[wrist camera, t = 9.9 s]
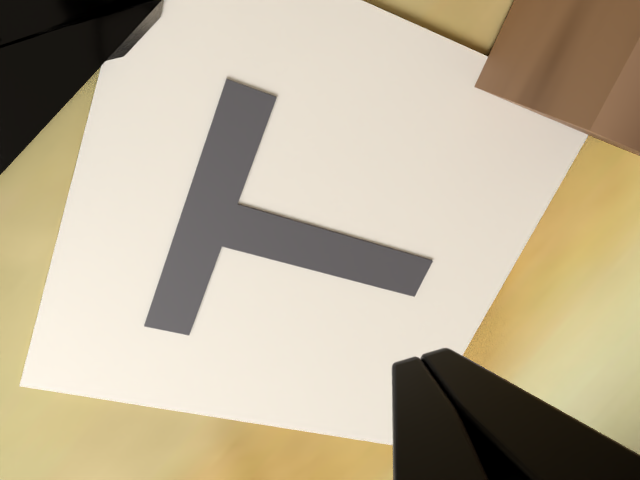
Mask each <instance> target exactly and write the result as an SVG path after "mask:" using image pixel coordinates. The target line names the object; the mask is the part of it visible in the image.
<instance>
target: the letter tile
mask: <svg viewBox="0 0 640 480" xmlns="http://www.w3.org/2000/svg"><path fill="white" fill-rule="evenodd" d="M487 58H488V56H486V55H483V54H481V53H479V52H477V51H475V50H472V49H470V48H468V47H466V46H463V45H461V44H459V43H457V42H454V41H452V40H450V39H448V38H445V37H443V36H441V35H439V34H436V33H434V32H432V31H430V30H427V29H425V28H423V27H421V26H419V25H416V24H414V23H412V22H410V21H407V20H405V19H403V18H401V17H398V16H396V15H394V14H392V13H389V12H387V11H385V10H383V9H380V8H378V7H376V6H374V5H372V4H369V3H367V2H365V1H363V0H164V3H163V8H162V14H161V17H160V19H159V20H158V21H157V22H156V23H155V24H154V25H153V26H152V27H151V28H150V29H149V30H148V31H147V32H146V34H145V35H144V36H143V37H142V38H141V39H140V40H139V41H138V42H137V43H136V44H135V45H134V46H133V47H132V49H131V50H130V51H129V52H128V53H127V54H126V55H125V56H124V57H120V58H116V59H112V60H108V61H105V62H104V63H103V64H102V66H101V69H100V73H99V77H98V81H97V84H96V88H95V92H94V96H93V100H92V104H91V108H90V112H89V116H88V120H87V124H86V128H85V131H84V135H83V139H82V143H81V147H80V151H79V155H78V159H77V163H76V167H75V171H74V174H73V178H72V182H71V186H70V190H69V194H68V198H67V202H66V206H65V210H64V214H63V217H62V221H61V225H60V229H59V233H58V237H57V241H56V245H55V249H54V253H53V257H52V261H51V264H50V268H49V272H48V276H47V280H46V284H45V288H44V292H43V296H42V300H41V304H40V307H39V311H38V315H37V319H36V323H35V327H34V331H33V335H32V339H31V343H30V347H29V350H28V354H27V358H26V362H25V366H24V370H23V374H22V378H21V382H20V386H22V387H28V388H34V389H41V390H47V391H53V392H60V393H66V394H72V395H79V396H85V397H91V398H98V399H104V400H110V401H117V402H123V403H129V404H136V405H142V406H148V407H154V408H161V409H167V410H173V411H180V412H186V413H192V414H199V415H205V416H211V417H218V418H224V419H230V420H237V421H243V422H249V423H256V424H262V425H268V426H274V427H281V428H287V429H293V430H300V431H306V432H312V433H319V434H325V435H331V436H338V437H344V438H350V439H357V440H363V441H369V442H376V443H382V444H388V445H393V430H392V365H393V363H395V362H397V361H401V360H404V359H407V358H411V357H415V356H416V357H419V358H421V356H422V355H423V354H424V353H428V352H431V351H434V350H438V349H441V348H449V349H451V350H453V351H455V352H457V353H459V354H460V355H463V353H464V352H465V350H466V348H467V346H468V345H469V343H470V341H471V339H472V338H473V336H474V334H475V332H476V331H477V329H478V327H479V325H480V324H481V322H482V320H483V318H484V317H485V315H486V313H487V311H488V310H489V308H490V306H491V305H492V303H493V301H494V299H495V298H496V296H497V294H498V292H499V291H500V289H501V287H502V285H503V284H504V282H505V280H506V278H507V277H508V275H509V273H510V271H511V270H512V268H513V266H514V264H515V263H516V261H517V259H518V257H519V256H520V254H521V252H522V250H523V249H524V247H525V245H526V243H527V242H528V240H529V238H530V236H531V235H532V233H533V231H534V229H535V228H536V226H537V224H538V222H539V221H540V219H541V217H542V215H543V214H544V212H545V210H546V208H547V207H548V205H549V203H550V201H551V200H552V198H553V196H554V194H555V193H556V191H557V189H558V187H559V186H560V184H561V182H562V180H563V179H564V177H565V175H566V173H567V172H568V170H569V168H570V166H571V165H572V163H573V161H574V159H575V158H576V156H577V154H578V152H579V151H580V149H581V147H582V145H583V144H584V142H585V140H586V138H587V137H588V135H587V134H585V133H583V132H580V131H578V130H576V129H573V128H571V127H568V126H566V125H564V124H561V123H559V122H557V121H554V120H552V119H549V118H547V117H545V116H542V115H540V114H538V113H535V112H533V111H530V110H528V109H526V108H523V107H521V106H519V105H516V104H514V103H511V102H509V101H507V100H504V99H502V98H500V97H497V96H495V95H492V94H490V93H488V92H485V91H483V90H481V89H478V88H476V87H474V86H475V84H476V82H477V80H478V78H479V76H480V73H481V71H482V69H483V67H484V65H485V63H486V60H487Z"/></svg>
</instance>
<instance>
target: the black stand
mask: <svg viewBox="0 0 640 480" xmlns="http://www.w3.org/2000/svg"><path fill="white" fill-rule="evenodd" d="M163 3H164V0H0V175H1V173H2V172H3V171H4V170H5V169H6V168H7V167H8V166H9V165H10V164H11V163H12V162H13V160H14V159H15V158H16V157H17V156H18V155H19V154H20V153H21V152H22V151H23V150H24V149H25V148H26V146H27V145H28V144H29V143H30V142H31V141H32V140H33V139H34V138H35V137H36V136H37V135H38V134H39V132H40V131H41V130H42V129H43V128H44V127H45V126H46V125H47V124H48V123H49V122H50V121H51V119H52V118H53V117H54V116H55V115H56V114H57V113H58V112H59V111H60V110H61V109H62V108H63V107H64V105H65V104H66V103H67V102H68V101H69V100H70V99H71V98H72V97H73V96H74V95H75V94H76V93H77V91H78V90H79V89H80V88H81V87H82V86H83V85H84V84H85V83H86V82H87V81H88V80H89V79H90V77H91V76H92V75H93V74H94V73H95V72H96V71H97V70H98V69H99V68H100V67H101V66H102V64H103V63H104V62H105V61H108V60H112V59H116V58H120V57H124V56H125V55H126V54H127V53H128V52H129V51H130V50H131V49H132V47H133V46H134V45H135V44H136V43H137V42H138V41H139V40H140V39H141V38H142V37H143V36H144V35H145V34H146V32H147V31H148V30H149V29H150V28H151V27H152V26H153V25H154V24H155V23H156V22H157V21H158V20H159V19H160V17H161V14H162V8H163Z"/></svg>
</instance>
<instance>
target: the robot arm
mask: <svg viewBox="0 0 640 480" xmlns="http://www.w3.org/2000/svg"><path fill="white" fill-rule="evenodd" d="M392 430H393V480H640V455H639V454H637V453H635V452H634V451H632V450H630V449H628V448H626V447H625V446H623V445H621V444H619V443H618V442H616V441H614V440H612V439H610V438H609V437H607V436H605V435H603V434H601V433H600V432H598V431H596V430H594V429H593V428H591V427H589V426H587V425H585V424H584V423H582V422H580V421H578V420H576V419H575V418H573V417H571V416H569V415H567V414H566V413H564V412H562V411H560V410H559V409H557V408H555V407H553V406H551V405H550V404H548V403H546V402H544V401H542V400H541V399H539V398H537V397H535V396H534V395H532V394H530V393H528V392H526V391H525V390H523V389H521V388H519V387H517V386H516V385H514V384H512V383H510V382H509V381H507V380H505V379H503V378H501V377H500V376H498V375H496V374H494V373H492V372H491V371H489V370H487V369H485V368H484V367H482V366H480V365H478V364H476V363H475V362H473V361H471V360H469V359H467V358H466V357H464V356H462V355H460V354H459V353H457V352H455V351H453V350H451V349H449V348H441V349H438V350H434V351H431V352H428V353H424V354H423V355H422V356H421V358H419V357H416V356H415V357H411V358H407V359H404V360H401V361H397V362H395V363H393V365H392Z"/></svg>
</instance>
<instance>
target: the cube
mask: <svg viewBox="0 0 640 480" xmlns="http://www.w3.org/2000/svg"><path fill="white" fill-rule="evenodd" d="M474 87H476V88H478V89H481V90H483V91H485V92H488V93H490V94H492V95H495V96H497V97H500V98H502V99H504V100H507V101H509V102H511V103H514V104H516V105H519V106H521V107H523V108H526V109H528V110H530V111H533V112H535V113H538V114H540V115H542V116H545V117H547V118H549V119H552V120H554V121H557V122H559V123H561V124H564V125H566V126H568V127H571V128H573V129H576V130H578V131H580V132H583V133H585V134H587V135H590V136H592V137H595V138H597V139H599V140H602V141H604V142H606V143H609V144H611V145H614V146H616V147H619V148H622V149H624V150H627V151H629V152H632V153H634V154H637V155H639V156H640V0H514V2H513V4H512V6H511V9H510V11H509V13H508V15H507V17H506V19H505V22H504V24H503V26H502V28H501V30H500V32H499V35H498V37H497V39H496V41H495V43H494V45H493V47H492V50H491V52H490V54H489V56H488V58H487V60H486V63H485V65H484V67H483V69H482V71H481V73H480V76H479V78H478V80H477V82H476V84H475V86H474Z"/></svg>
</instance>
